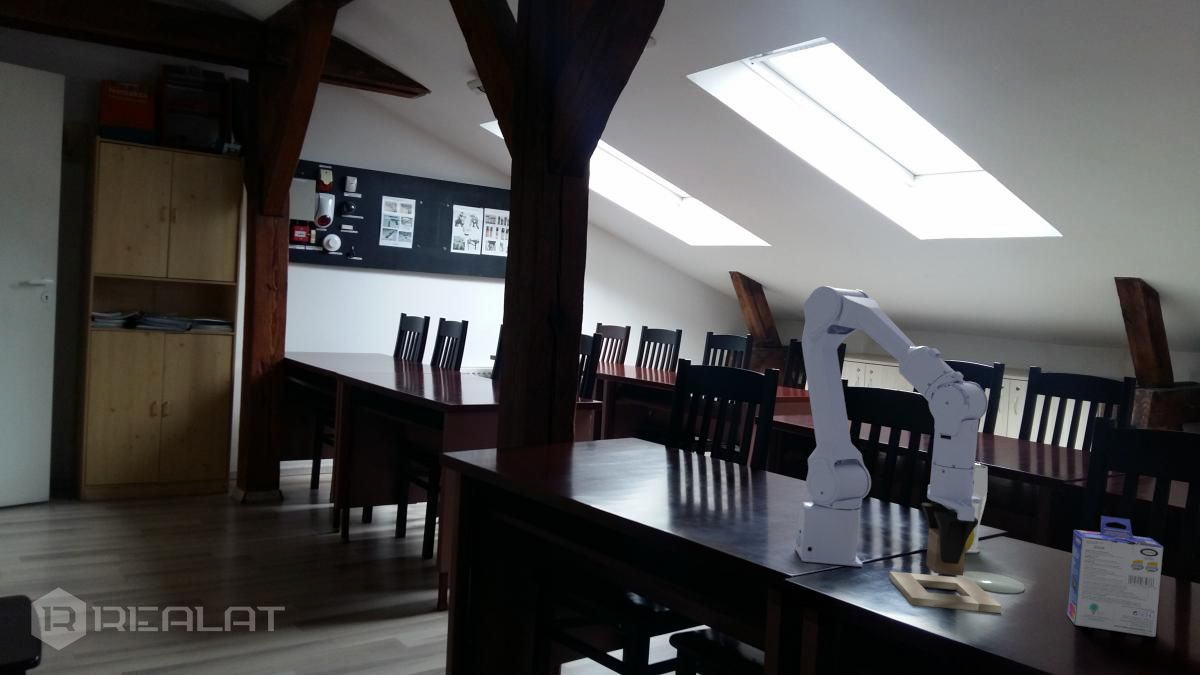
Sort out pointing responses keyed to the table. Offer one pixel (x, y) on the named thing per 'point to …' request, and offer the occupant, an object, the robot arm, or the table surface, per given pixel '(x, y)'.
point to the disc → (994, 582)
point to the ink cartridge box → (1115, 579)
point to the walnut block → (935, 556)
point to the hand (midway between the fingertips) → (944, 558)
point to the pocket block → (966, 587)
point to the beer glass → (980, 492)
